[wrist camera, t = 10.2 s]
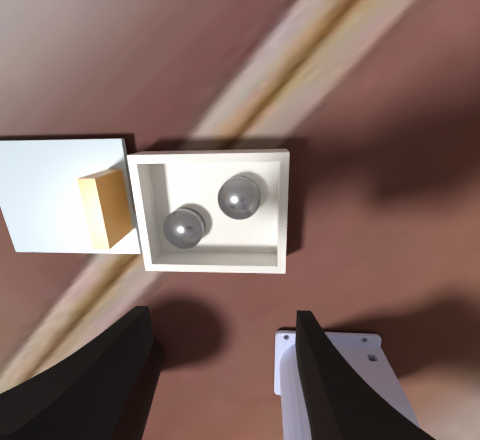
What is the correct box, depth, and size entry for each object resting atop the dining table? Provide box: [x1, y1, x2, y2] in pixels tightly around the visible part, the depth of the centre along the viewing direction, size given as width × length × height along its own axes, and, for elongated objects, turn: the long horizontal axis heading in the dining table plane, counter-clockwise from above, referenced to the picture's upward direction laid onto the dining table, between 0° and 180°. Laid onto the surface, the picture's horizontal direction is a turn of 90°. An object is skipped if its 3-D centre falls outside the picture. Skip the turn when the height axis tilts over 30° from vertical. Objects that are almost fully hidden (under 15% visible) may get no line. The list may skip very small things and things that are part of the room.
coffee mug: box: [111, 336, 164, 440], centre depth 24 cm, size 12×9×10 cm
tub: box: [127, 149, 290, 273], centre depth 21 cm, size 11×9×3 cm
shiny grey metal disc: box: [218, 176, 261, 220], centre depth 21 cm, size 3×3×1 cm
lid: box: [0, 138, 143, 254], centre depth 21 cm, size 11×9×5 cm
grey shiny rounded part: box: [163, 207, 205, 249], centre depth 22 cm, size 3×3×1 cm
